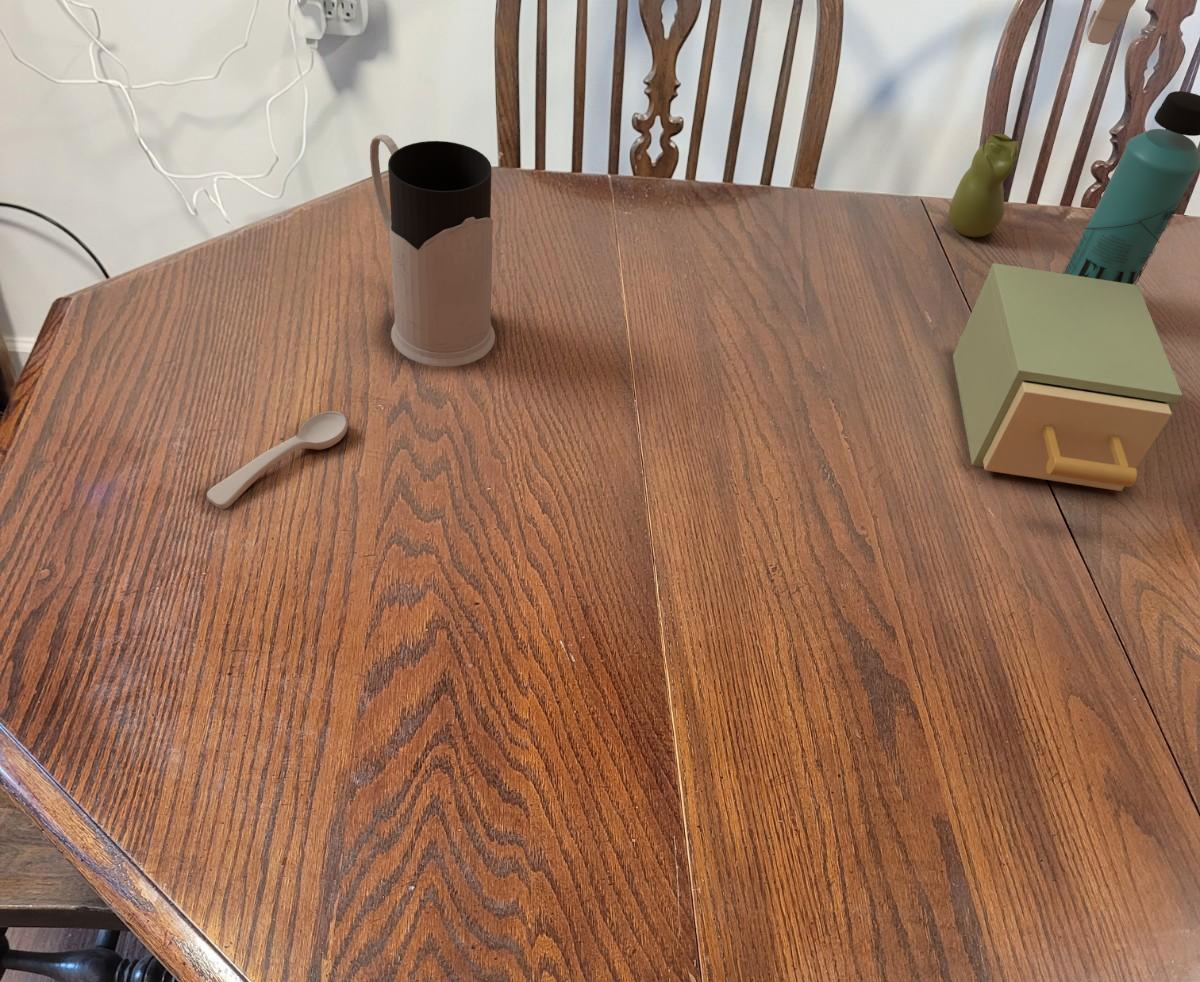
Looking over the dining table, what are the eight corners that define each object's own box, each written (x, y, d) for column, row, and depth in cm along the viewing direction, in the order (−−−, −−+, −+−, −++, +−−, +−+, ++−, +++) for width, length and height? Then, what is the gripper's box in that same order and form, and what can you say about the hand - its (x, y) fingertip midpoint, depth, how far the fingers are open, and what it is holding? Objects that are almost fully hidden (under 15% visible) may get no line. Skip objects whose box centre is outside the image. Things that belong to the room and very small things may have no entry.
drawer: (1135, 535, 79) (1189, 458, 73) (992, 513, 79) (1035, 434, 73) (1088, 385, 91) (1132, 309, 85) (964, 366, 91) (999, 288, 85)
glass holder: (427, 382, 84) (421, 208, 72) (337, 294, 90) (319, 121, 79) (516, 348, 88) (524, 177, 76) (424, 265, 94) (418, 97, 83)
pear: (945, 213, 110) (981, 119, 102) (995, 227, 109) (1035, 132, 102) (938, 239, 106) (974, 143, 99) (990, 252, 106) (1030, 157, 98)
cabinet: (1120, 490, 83) (1183, 395, 76) (970, 467, 83) (1019, 370, 76) (1085, 379, 93) (1138, 284, 86) (951, 358, 93) (993, 262, 86)
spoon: (359, 435, 78) (355, 416, 77) (230, 524, 73) (223, 505, 71) (332, 417, 80) (327, 397, 78) (203, 503, 74) (196, 483, 72)
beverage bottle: (1045, 316, 99) (1150, 103, 84) (1052, 281, 103) (1153, 73, 88) (1114, 336, 98) (1233, 125, 83) (1118, 301, 102) (1233, 94, 87)
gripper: (1254, -145, 67) (1148, 77, 77) (1196, -217, 80) (1112, -20, 90) (1155, -161, 67) (1062, 62, 77) (1113, -231, 80) (1039, -32, 91)
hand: (1089, 17), depth 84 cm, fingers open, 8 cm apart
